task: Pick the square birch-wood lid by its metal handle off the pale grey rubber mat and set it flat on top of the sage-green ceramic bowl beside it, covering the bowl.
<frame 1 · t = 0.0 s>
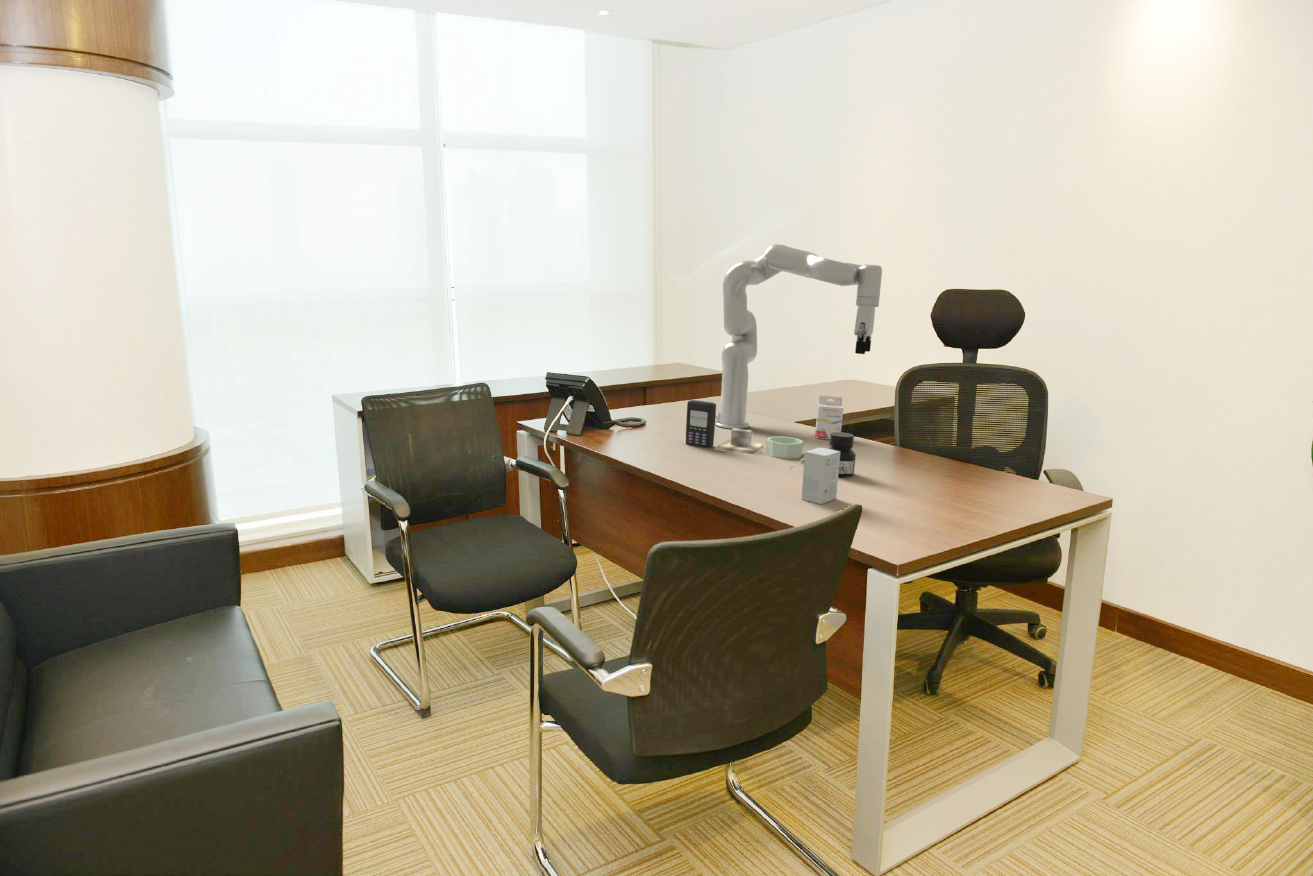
hand: (862, 352, 294), 31 cm above the table, tool pointing down, fingers open, 9 cm apart
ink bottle: (838, 474, 254), on the table
lid: (740, 448, 279), resting on mat
mat: (740, 449, 280), on the table
card reader: (698, 447, 281), on the table
small box: (818, 499, 226), on the table
ink cartridge box: (827, 438, 304), on the table
bowl: (783, 455, 274), on the table
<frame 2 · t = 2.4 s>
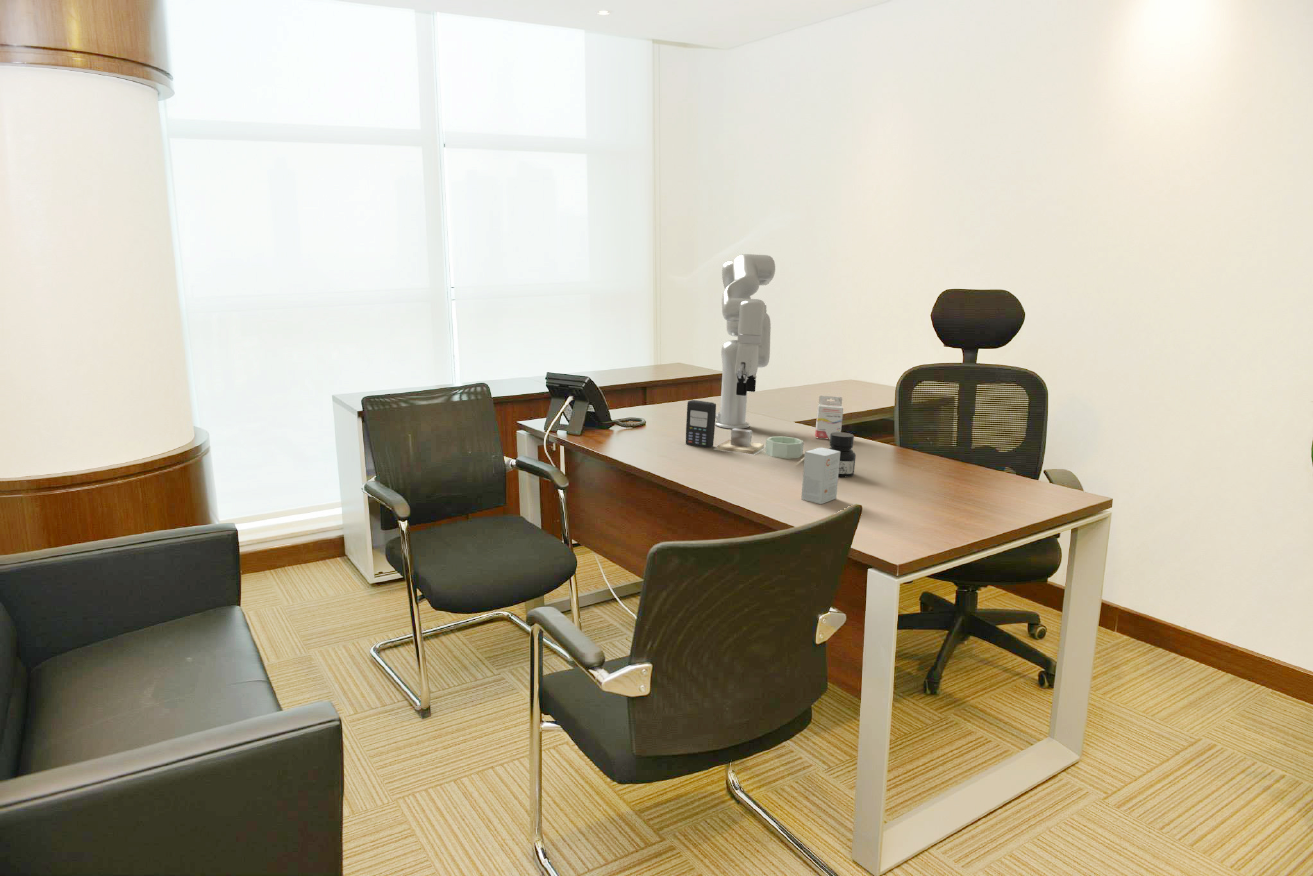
hand: (745, 393, 276), 19 cm above the table, tool pointing down, fingers open, 9 cm apart
nothing on the table moved.
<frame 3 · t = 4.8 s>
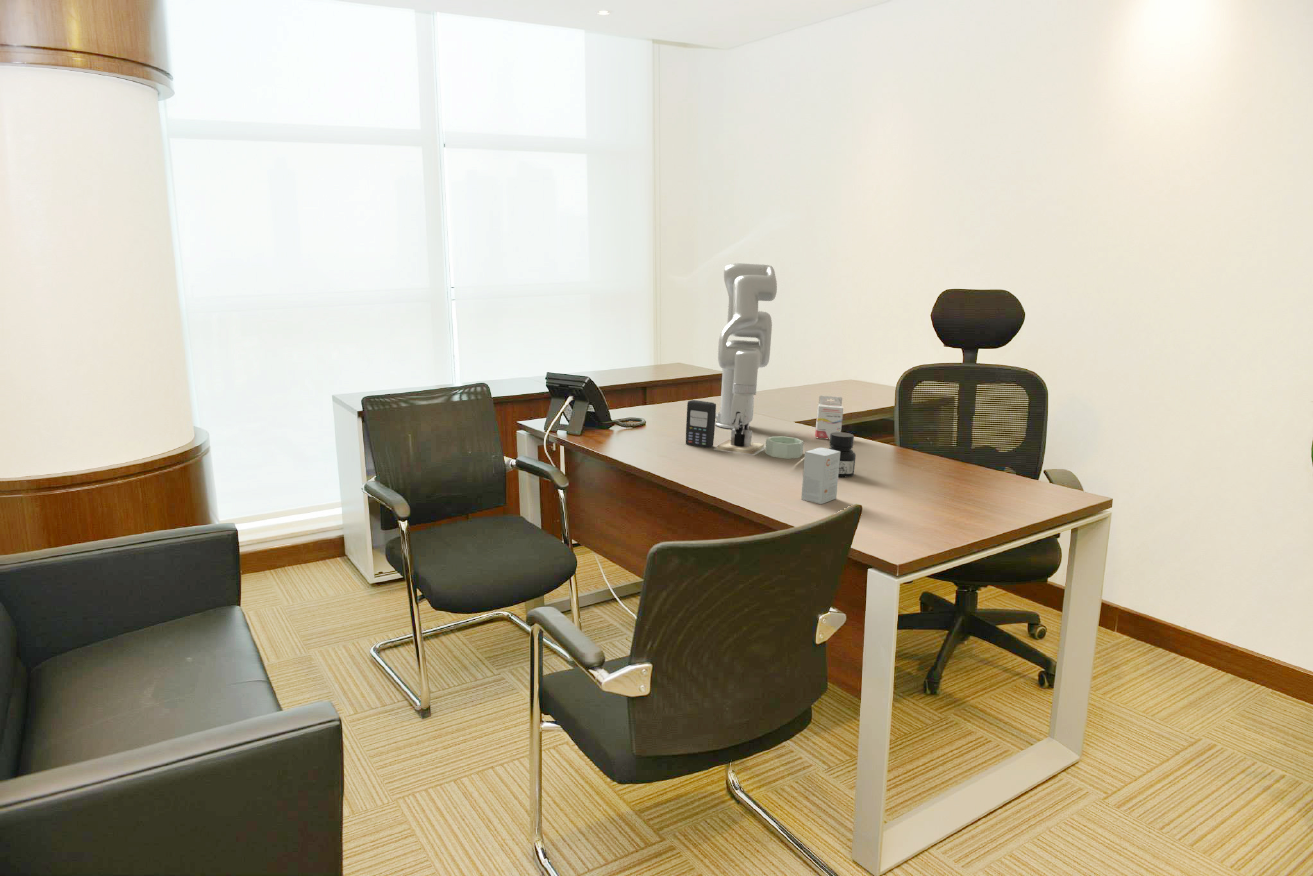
hand: (740, 444, 279), 2 cm above the table, tool pointing down, fingers closed on lid, 3 cm apart
lid: (740, 448, 279), point 1 cm above the table, touching gripper, mat
everything else where it was.
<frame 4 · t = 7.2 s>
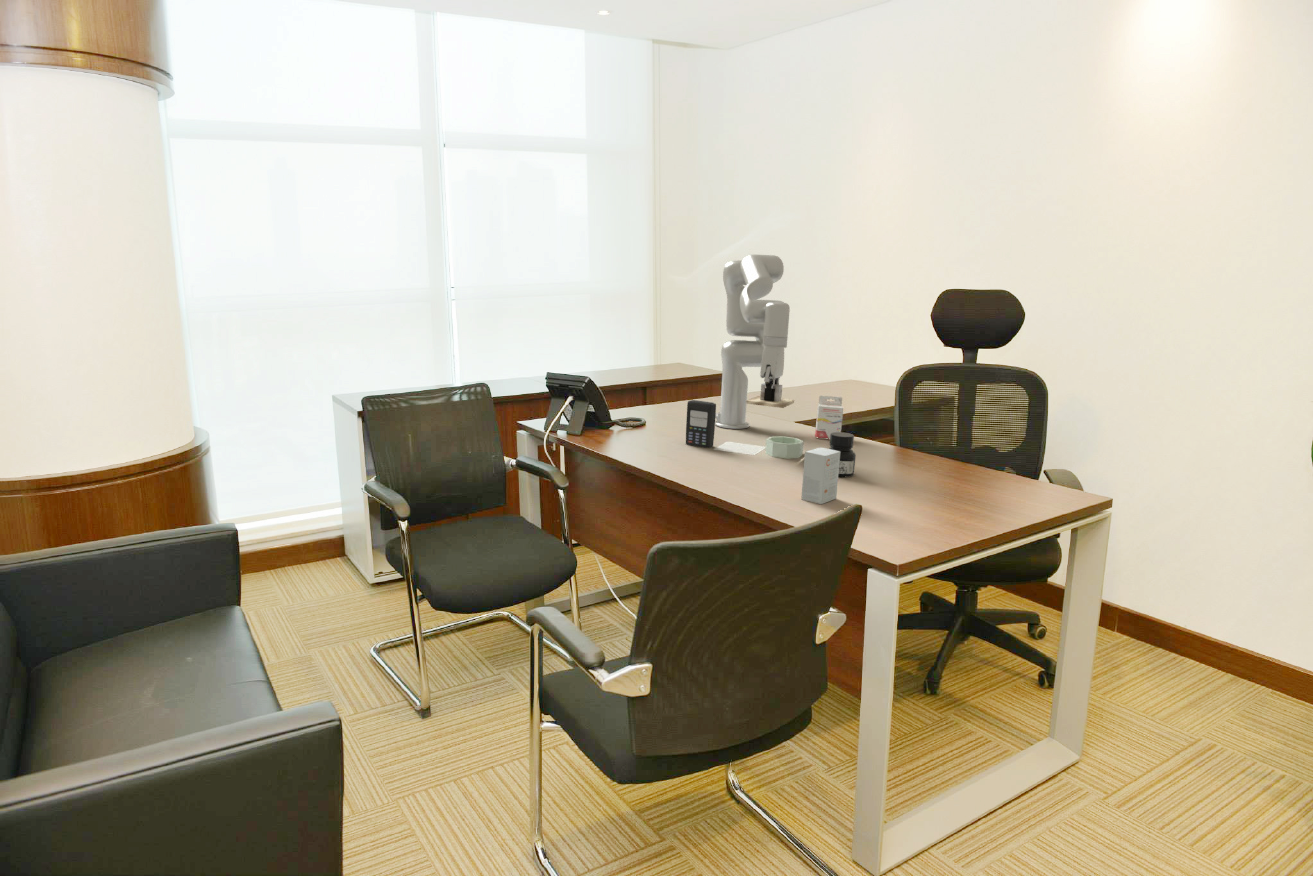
hand: (770, 399, 272), 18 cm above the table, tool pointing down, fingers closed on lid, 3 cm apart
lid: (770, 403, 273), point 16 cm above the table, touching gripper
everything else where it was.
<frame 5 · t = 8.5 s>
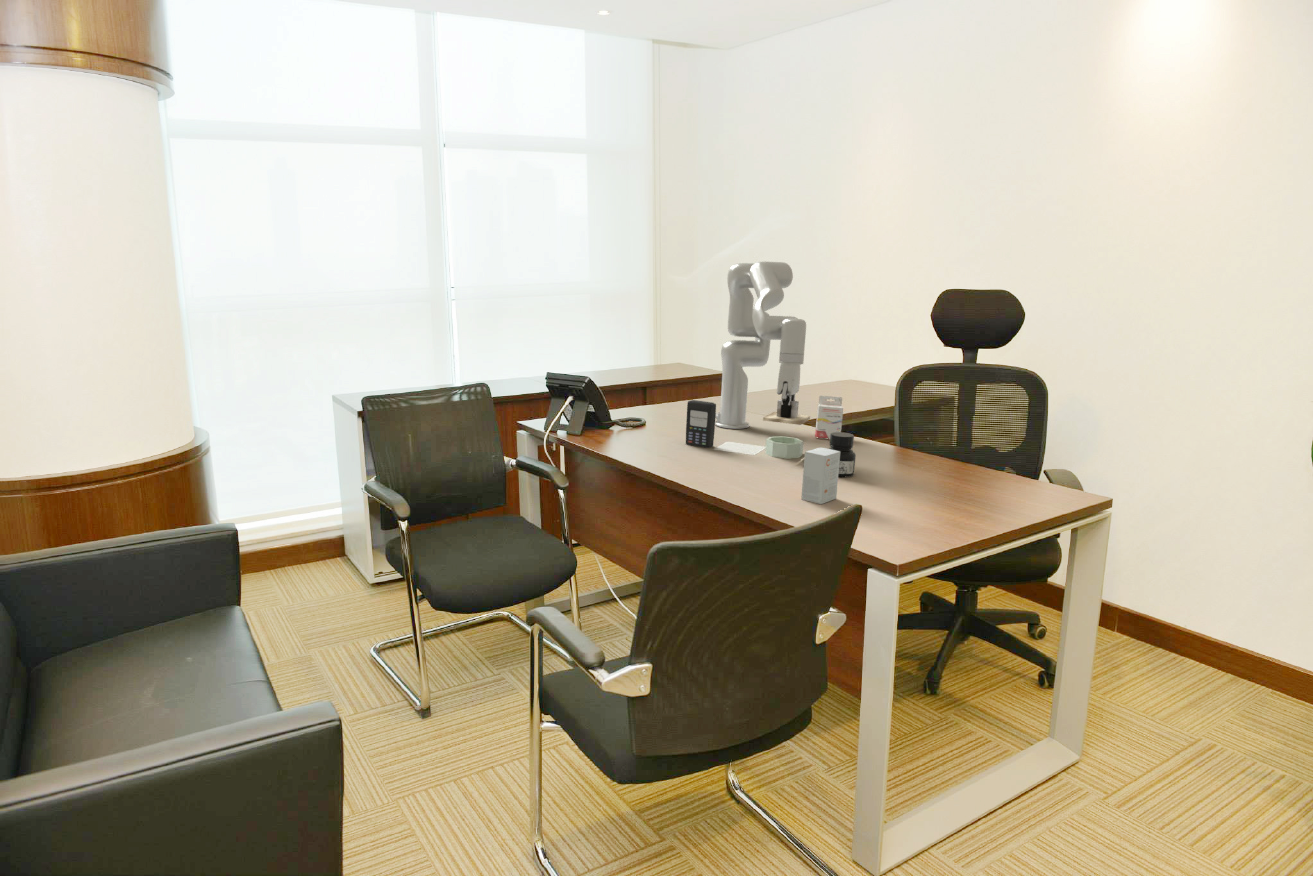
hand: (787, 416, 271), 13 cm above the table, tool pointing down, fingers closed on lid, 3 cm apart
lid: (786, 419, 271), point 12 cm above the table, touching gripper
everything else where it was.
when the fingers open (8 cm above the table, at t = 9.6 s): lid drops 1 cm, resting on bowl.
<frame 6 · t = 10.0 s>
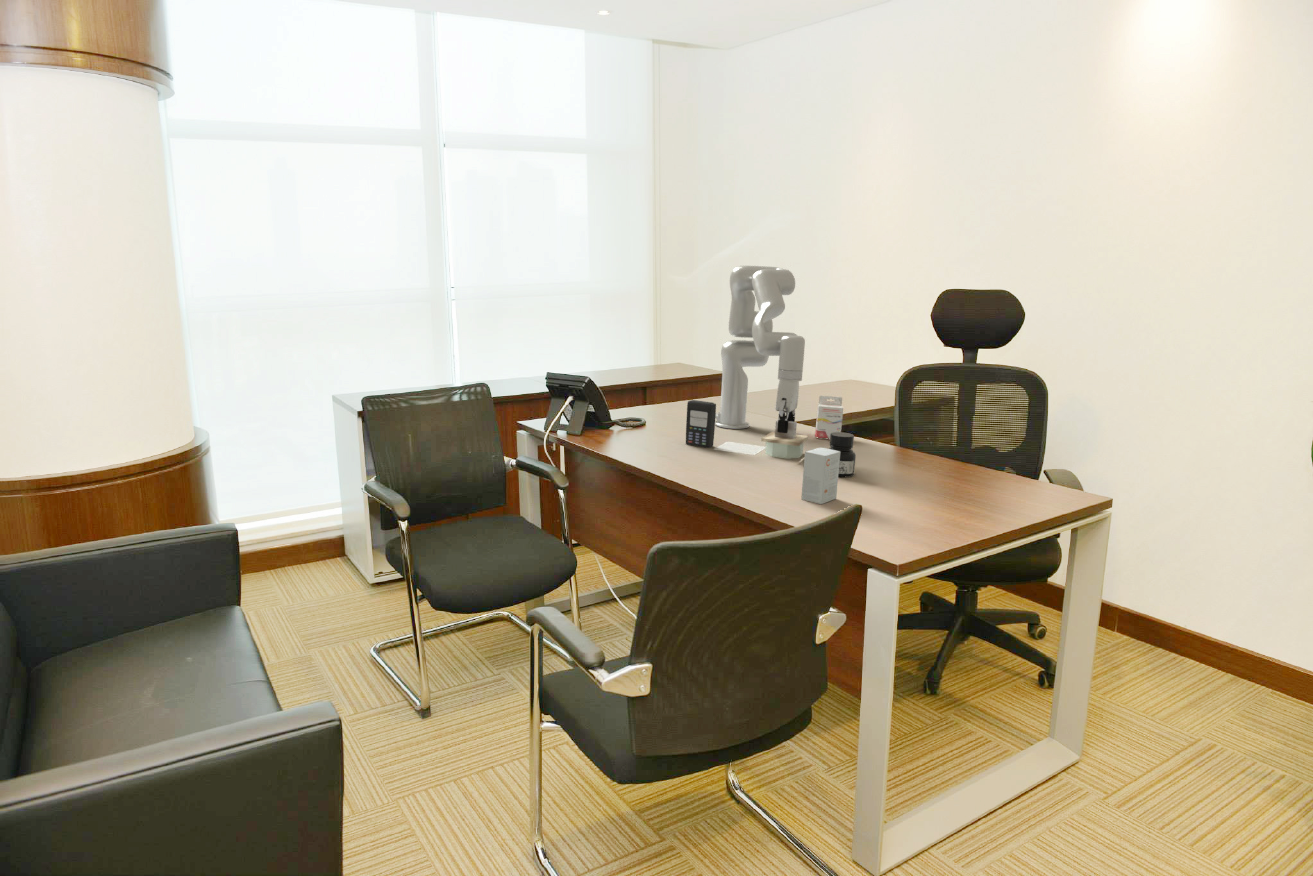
hand: (785, 430, 272), 8 cm above the table, tool pointing down, fingers open, 7 cm apart
lid: (784, 440, 273), point 5 cm above the table, touching bowl
everything else where it was.
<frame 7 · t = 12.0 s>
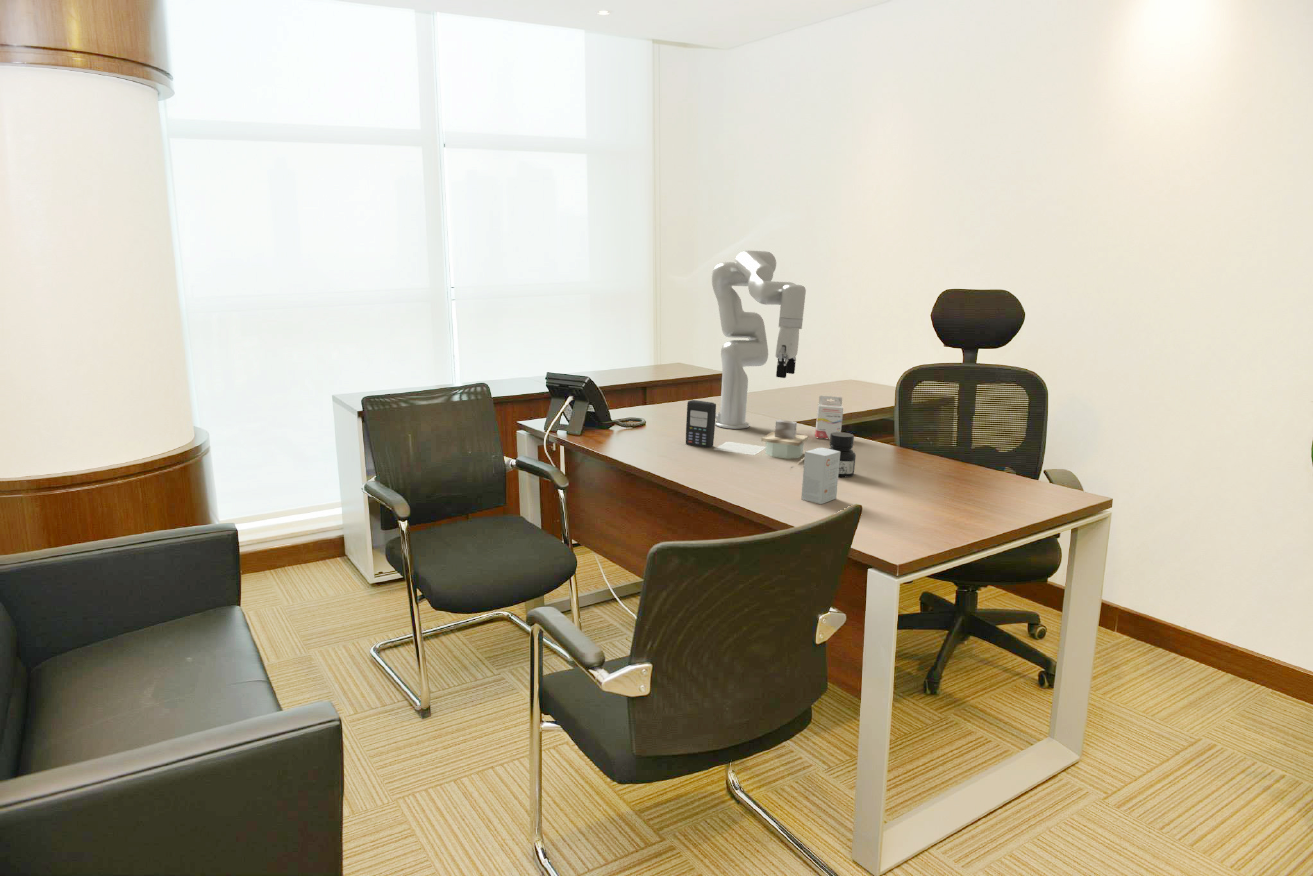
hand: (785, 375, 282), 24 cm above the table, tool pointing down, fingers open, 9 cm apart
nothing on the table moved.
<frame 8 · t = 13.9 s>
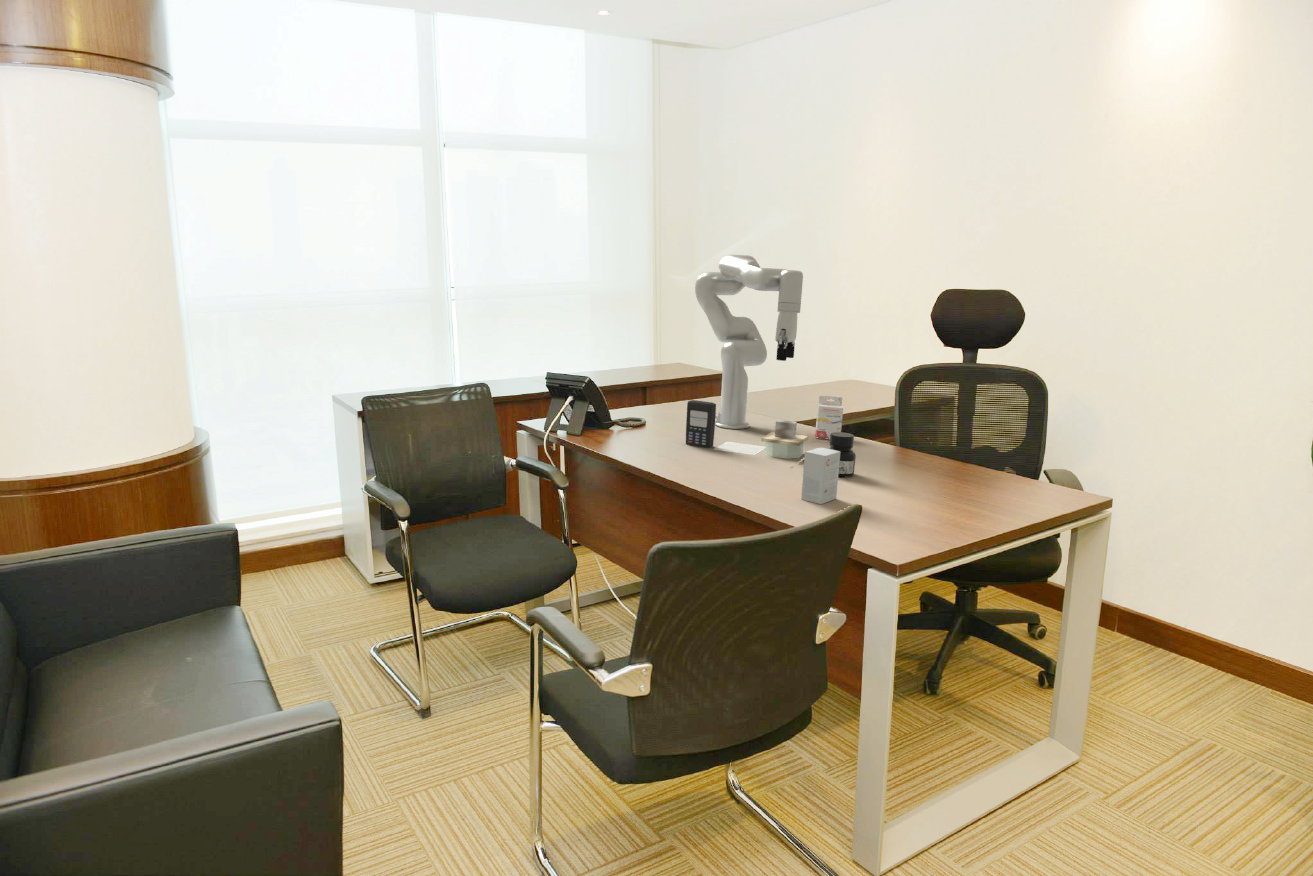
hand: (785, 358, 290), 28 cm above the table, tool pointing down, fingers open, 9 cm apart
nothing on the table moved.
at the end: lid 0.1 cm off-centre on the bowl, point 5.0 cm above the bowl's base; lid tilted 0°; the gripper is holding nothing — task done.
